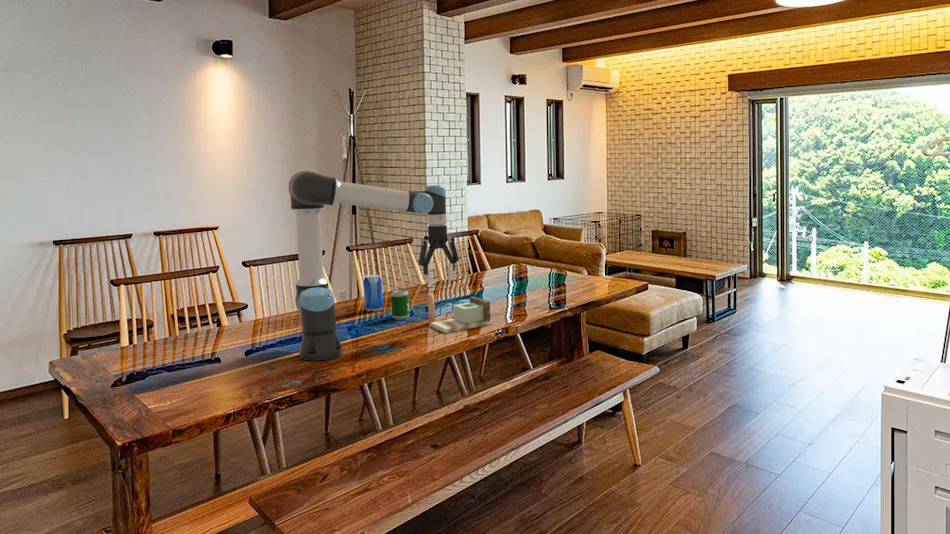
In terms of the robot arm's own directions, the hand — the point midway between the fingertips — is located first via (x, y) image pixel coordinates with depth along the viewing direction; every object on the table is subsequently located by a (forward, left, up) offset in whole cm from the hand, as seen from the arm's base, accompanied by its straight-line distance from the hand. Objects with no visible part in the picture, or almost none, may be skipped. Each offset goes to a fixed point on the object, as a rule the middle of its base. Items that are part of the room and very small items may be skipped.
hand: (439, 281), depth 253 cm
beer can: (-10, +49, -20) cm, 54 cm away
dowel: (+1, +11, -20) cm, 22 cm away
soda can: (-6, +27, -20) cm, 34 cm away
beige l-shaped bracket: (+9, 0, -20) cm, 22 cm away
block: (+12, 0, -18) cm, 22 cm away
